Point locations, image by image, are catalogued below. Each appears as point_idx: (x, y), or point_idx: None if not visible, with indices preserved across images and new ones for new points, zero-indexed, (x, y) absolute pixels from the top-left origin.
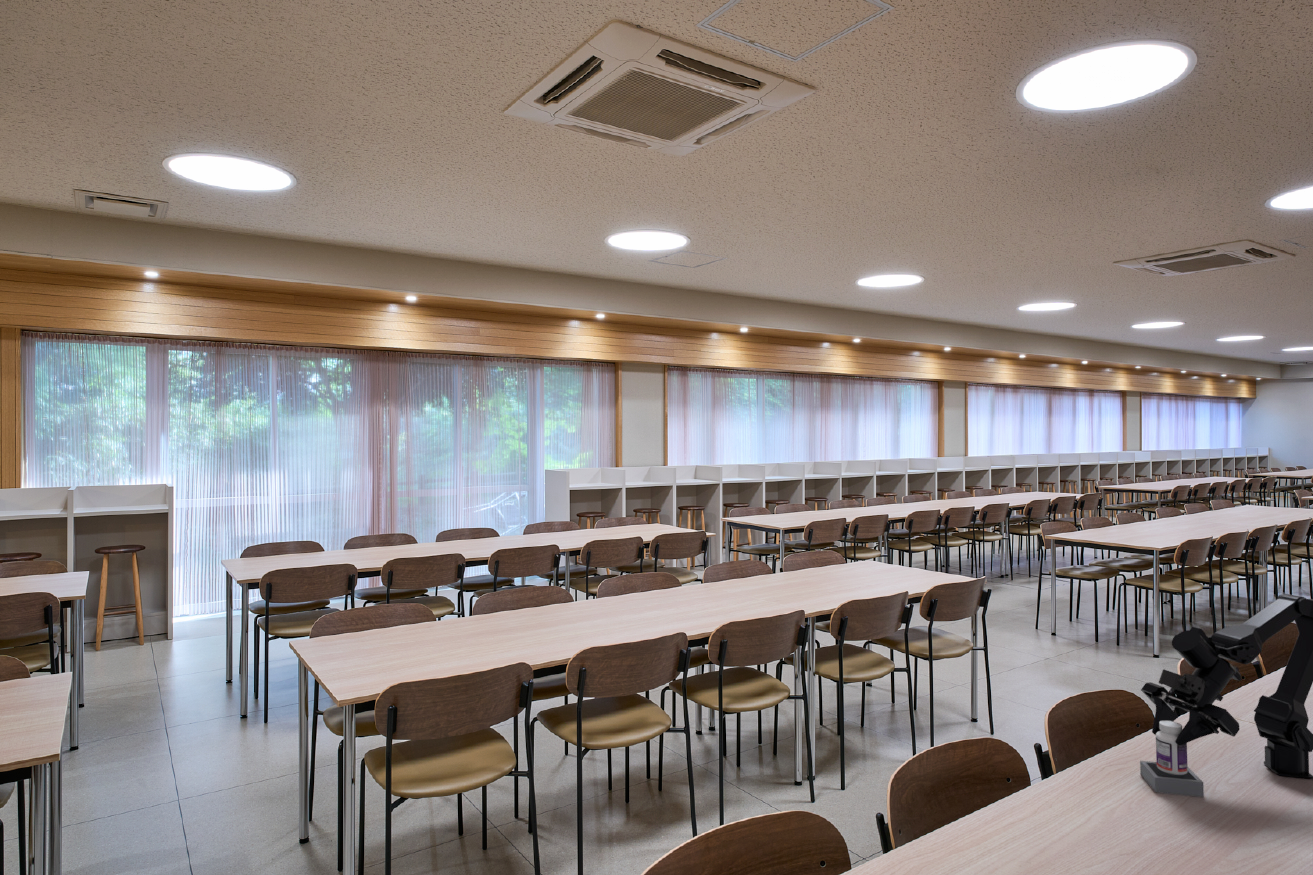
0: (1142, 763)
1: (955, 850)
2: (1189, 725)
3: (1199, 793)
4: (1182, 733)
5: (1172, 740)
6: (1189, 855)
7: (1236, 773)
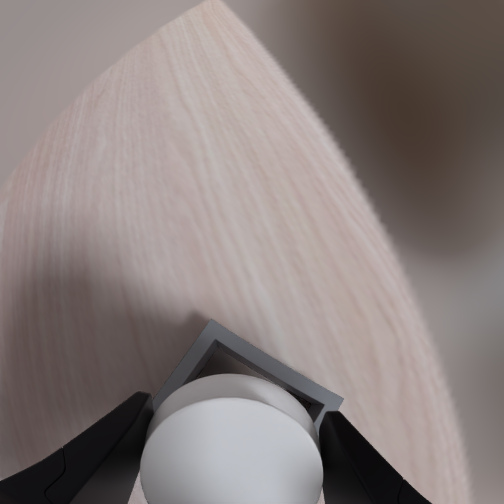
0: (322, 387)
1: (205, 14)
2: (46, 474)
3: None
4: (103, 429)
5: (171, 397)
6: (42, 156)
7: None
